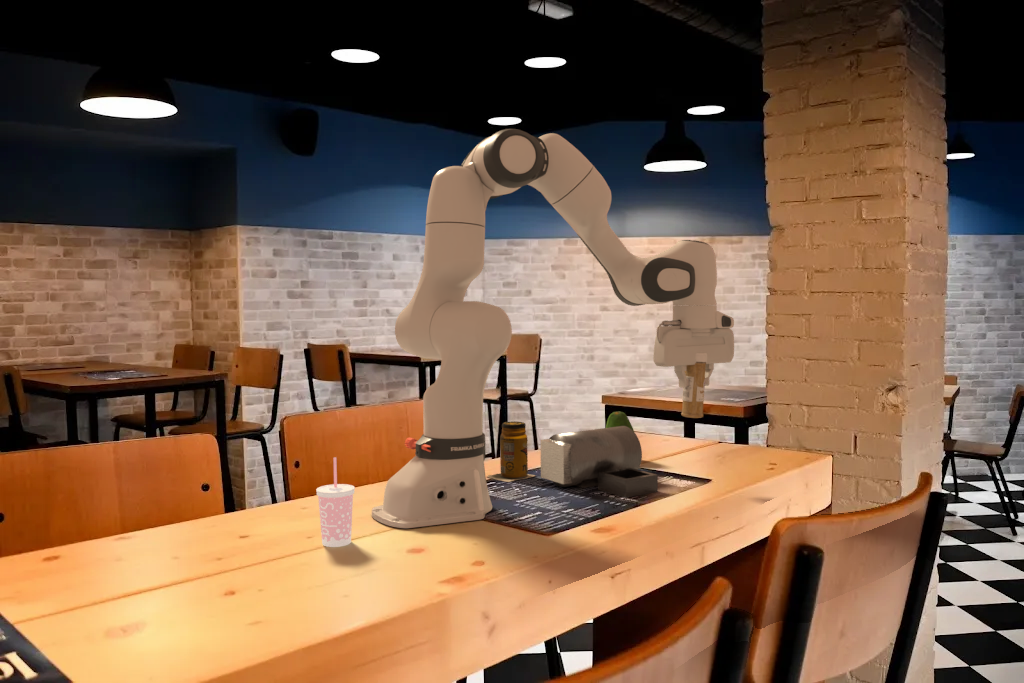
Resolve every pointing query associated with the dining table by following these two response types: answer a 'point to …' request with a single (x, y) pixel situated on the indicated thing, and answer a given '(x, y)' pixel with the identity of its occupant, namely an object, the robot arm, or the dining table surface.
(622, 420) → the avocado
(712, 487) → the dining table surface
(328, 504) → the beverage cup
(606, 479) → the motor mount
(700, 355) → the sprinkles bottle
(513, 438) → the condiment
